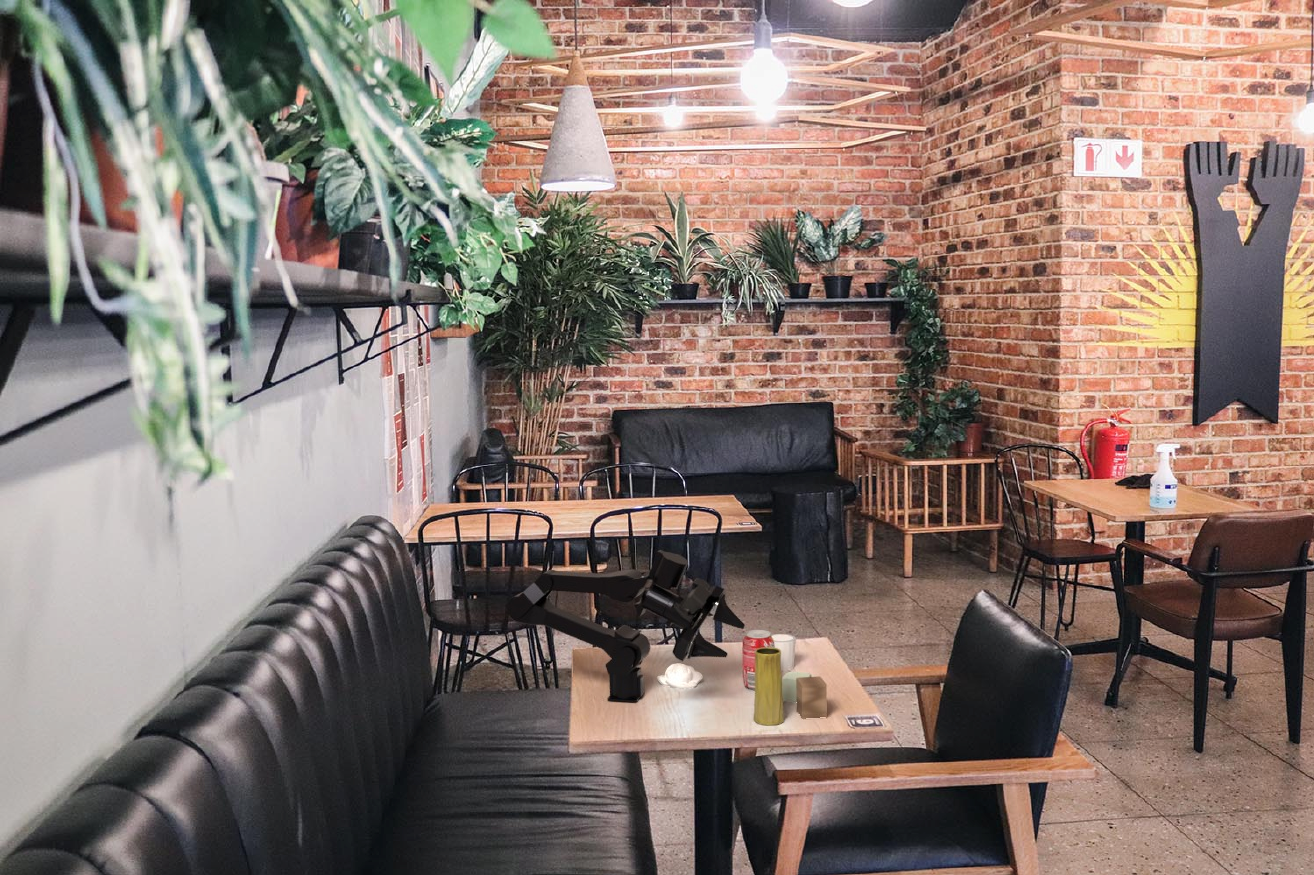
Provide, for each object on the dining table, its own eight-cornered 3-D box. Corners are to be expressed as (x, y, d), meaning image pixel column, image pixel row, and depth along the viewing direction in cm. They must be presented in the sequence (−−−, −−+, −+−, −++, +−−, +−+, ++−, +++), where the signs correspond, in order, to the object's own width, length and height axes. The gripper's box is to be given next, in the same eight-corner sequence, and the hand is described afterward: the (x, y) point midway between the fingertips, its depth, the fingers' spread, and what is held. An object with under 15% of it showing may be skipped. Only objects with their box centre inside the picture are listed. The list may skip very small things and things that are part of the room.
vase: (759, 727, 211) (759, 656, 209) (749, 716, 216) (748, 647, 215) (788, 723, 212) (788, 653, 211) (777, 713, 218) (776, 645, 217)
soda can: (775, 681, 238) (774, 629, 237) (775, 692, 231) (774, 638, 230) (743, 681, 239) (742, 628, 238) (742, 692, 232) (741, 637, 231)
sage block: (782, 701, 226) (781, 678, 225) (789, 693, 230) (788, 671, 230) (805, 704, 224) (804, 680, 223) (811, 696, 228) (811, 673, 228)
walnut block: (802, 719, 214) (802, 685, 214) (796, 711, 219) (796, 677, 219) (826, 718, 215) (826, 684, 214) (820, 709, 220) (820, 676, 219)
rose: (696, 656, 244) (706, 669, 235) (697, 675, 245) (707, 688, 235) (653, 659, 242) (662, 672, 233) (654, 679, 243) (662, 692, 233)
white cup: (761, 665, 250) (760, 636, 250) (786, 661, 253) (786, 632, 253) (776, 673, 244) (776, 643, 243) (802, 668, 247) (801, 639, 246)
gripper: (657, 608, 213) (727, 644, 209) (696, 554, 227) (762, 587, 223) (646, 644, 220) (714, 680, 216) (685, 589, 234) (749, 622, 230)
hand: (735, 640), depth 221 cm, fingers open, 9 cm apart
